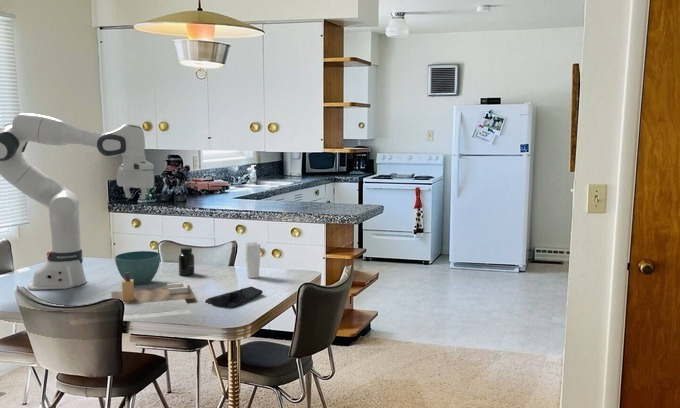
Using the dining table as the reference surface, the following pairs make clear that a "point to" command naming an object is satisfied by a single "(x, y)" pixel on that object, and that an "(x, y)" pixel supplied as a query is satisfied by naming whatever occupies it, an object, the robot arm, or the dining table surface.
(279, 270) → the dining table surface
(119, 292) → the board
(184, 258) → the supplement bottle
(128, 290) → the tan block with tip
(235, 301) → the dark slate chunk
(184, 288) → the plug holder
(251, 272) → the drinking glass
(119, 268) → the teal bowl
